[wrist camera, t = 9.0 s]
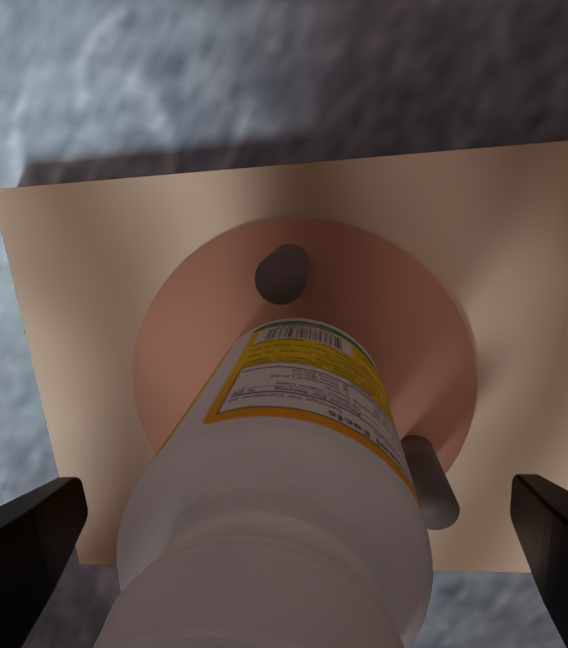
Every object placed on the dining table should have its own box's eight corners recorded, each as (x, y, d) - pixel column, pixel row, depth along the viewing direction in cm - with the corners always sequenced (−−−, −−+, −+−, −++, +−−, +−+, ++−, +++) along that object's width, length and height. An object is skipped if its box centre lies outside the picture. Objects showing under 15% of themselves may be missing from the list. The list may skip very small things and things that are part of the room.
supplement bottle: (321, 280, 13) (311, 478, 3) (414, 419, 14) (608, 876, 4) (182, 372, 14) (-104, 701, 5) (276, 494, 15) (194, 977, 5)
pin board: (93, 545, 18) (28, 639, 14) (14, 190, 14) (-104, 184, 10) (556, 550, 16) (631, 662, 12) (602, 141, 12) (731, 109, 8)
